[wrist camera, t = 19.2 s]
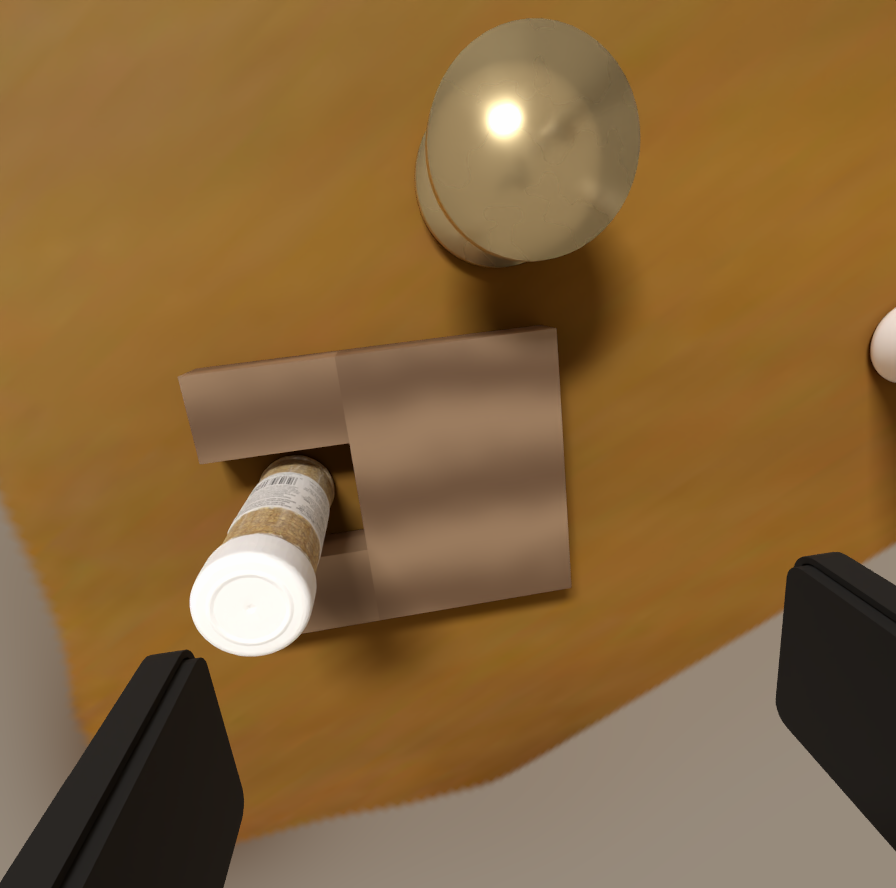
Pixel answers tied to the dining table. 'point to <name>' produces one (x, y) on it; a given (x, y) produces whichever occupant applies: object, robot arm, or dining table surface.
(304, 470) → the sprinkles bottle
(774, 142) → the dining table surface
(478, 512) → the notched board
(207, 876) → the robot arm
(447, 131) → the bobbin
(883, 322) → the drinking glass
